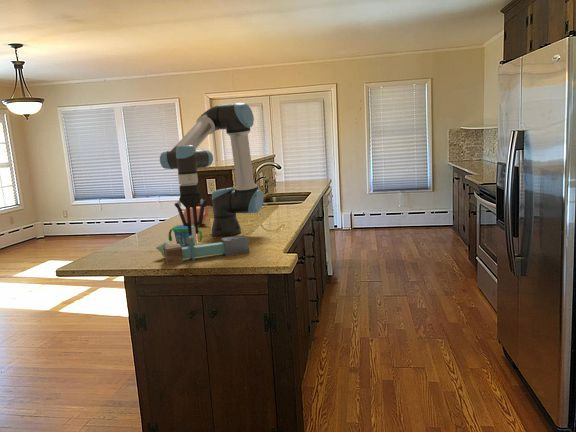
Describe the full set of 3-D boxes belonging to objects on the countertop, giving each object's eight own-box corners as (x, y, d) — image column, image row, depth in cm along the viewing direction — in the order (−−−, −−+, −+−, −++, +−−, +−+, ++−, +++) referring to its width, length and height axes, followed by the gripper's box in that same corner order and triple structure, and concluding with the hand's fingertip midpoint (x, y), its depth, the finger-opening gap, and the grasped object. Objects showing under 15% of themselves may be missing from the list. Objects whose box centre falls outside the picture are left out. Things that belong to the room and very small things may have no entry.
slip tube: (176, 258, 190) (174, 238, 188) (233, 250, 198) (232, 230, 196) (178, 262, 184) (176, 240, 183) (237, 253, 192) (235, 233, 191)
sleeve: (222, 252, 196) (221, 238, 195) (245, 249, 200) (244, 235, 199) (226, 256, 190) (224, 241, 189) (249, 252, 194) (248, 237, 192)
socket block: (166, 260, 189) (164, 245, 188) (180, 258, 191) (179, 243, 190) (167, 264, 182) (166, 248, 181) (183, 262, 184) (181, 246, 183)
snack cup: (207, 245, 212) (205, 224, 210) (196, 251, 202) (194, 228, 200) (177, 245, 217) (175, 224, 215) (165, 250, 207) (162, 228, 205)
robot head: (156, 259, 193) (154, 243, 191) (159, 256, 197) (158, 241, 195) (174, 258, 192) (172, 242, 190) (177, 256, 196) (176, 240, 194)
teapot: (208, 227, 261) (206, 205, 259) (175, 227, 265) (173, 207, 263) (216, 222, 274) (214, 202, 272) (184, 223, 277) (182, 203, 276)
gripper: (173, 186, 179) (179, 246, 182) (206, 183, 183) (211, 241, 187) (171, 185, 186) (176, 242, 189) (203, 182, 190) (208, 238, 194)
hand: (194, 242), depth 188 cm, fingers closed
